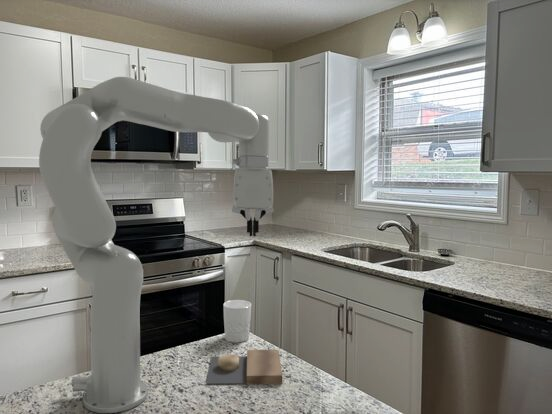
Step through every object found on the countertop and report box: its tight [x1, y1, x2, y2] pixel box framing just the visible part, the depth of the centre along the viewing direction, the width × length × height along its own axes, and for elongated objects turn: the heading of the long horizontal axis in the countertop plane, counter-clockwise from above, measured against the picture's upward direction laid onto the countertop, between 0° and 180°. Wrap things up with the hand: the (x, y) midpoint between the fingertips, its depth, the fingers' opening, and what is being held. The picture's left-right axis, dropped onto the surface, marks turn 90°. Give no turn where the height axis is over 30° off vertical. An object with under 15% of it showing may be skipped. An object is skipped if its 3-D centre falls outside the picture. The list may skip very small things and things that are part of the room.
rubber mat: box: [205, 355, 248, 386], centre depth 103 cm, size 9×14×1 cm, turn 3°
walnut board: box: [246, 349, 283, 385], centre depth 103 cm, size 8×14×2 cm, turn 3°
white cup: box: [223, 299, 252, 343], centre depth 122 cm, size 8×8×10 cm
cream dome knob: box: [218, 354, 239, 372], centre depth 104 cm, size 5×5×2 cm
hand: (252, 235), depth 111 cm, fingers closed
